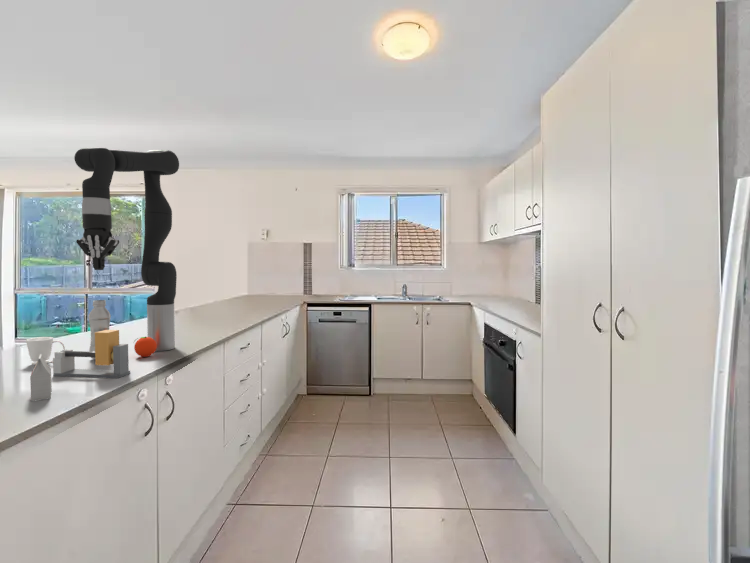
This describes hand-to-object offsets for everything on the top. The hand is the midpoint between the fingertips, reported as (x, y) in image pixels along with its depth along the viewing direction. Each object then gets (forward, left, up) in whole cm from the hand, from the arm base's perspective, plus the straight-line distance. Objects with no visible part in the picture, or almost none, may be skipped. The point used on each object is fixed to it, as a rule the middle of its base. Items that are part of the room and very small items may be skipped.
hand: (98, 269), depth 129 cm
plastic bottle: (-14, -1, -31) cm, 34 cm away
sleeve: (+11, +2, -27) cm, 29 cm away
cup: (-16, -16, -31) cm, 38 cm away
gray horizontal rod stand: (+8, -2, -31) cm, 32 cm away
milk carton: (+25, -11, -31) cm, 41 cm away
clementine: (-11, +12, -31) cm, 35 cm away
